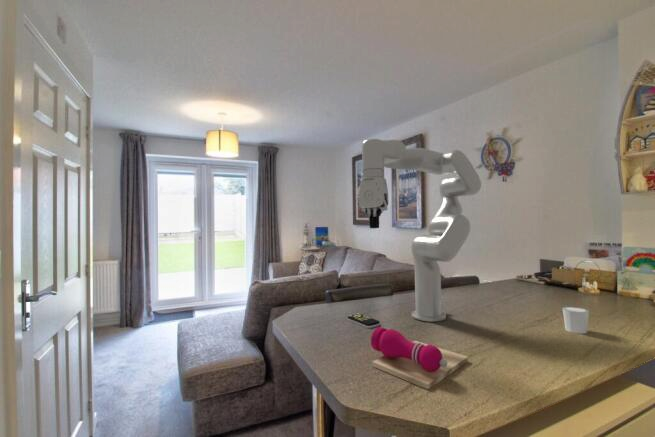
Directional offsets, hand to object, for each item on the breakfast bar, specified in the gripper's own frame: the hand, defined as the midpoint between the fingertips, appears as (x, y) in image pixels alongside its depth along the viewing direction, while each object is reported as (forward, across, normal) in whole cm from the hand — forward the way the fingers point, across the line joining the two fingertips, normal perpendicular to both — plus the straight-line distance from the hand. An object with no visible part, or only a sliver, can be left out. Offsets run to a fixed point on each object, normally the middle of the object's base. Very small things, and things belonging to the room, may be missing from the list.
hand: (374, 227), depth 110 cm
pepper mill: (+30, +14, -17) cm, 37 cm away
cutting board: (+35, +25, -13) cm, 45 cm away
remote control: (+36, -8, +2) cm, 37 cm away
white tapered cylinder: (+35, +48, +44) cm, 74 cm away
